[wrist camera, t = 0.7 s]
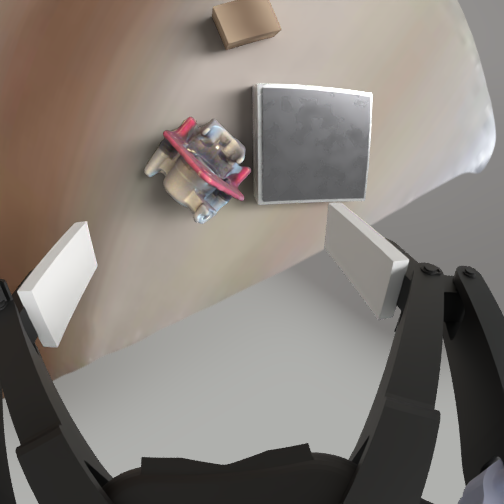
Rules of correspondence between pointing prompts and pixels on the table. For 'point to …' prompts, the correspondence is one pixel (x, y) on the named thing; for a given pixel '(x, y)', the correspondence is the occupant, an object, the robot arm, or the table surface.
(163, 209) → the table surface
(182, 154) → the brake caliper
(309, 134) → the stand
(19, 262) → the table surface
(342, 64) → the table surface
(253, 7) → the brown rectangular block
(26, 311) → the robot arm
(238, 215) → the table surface
